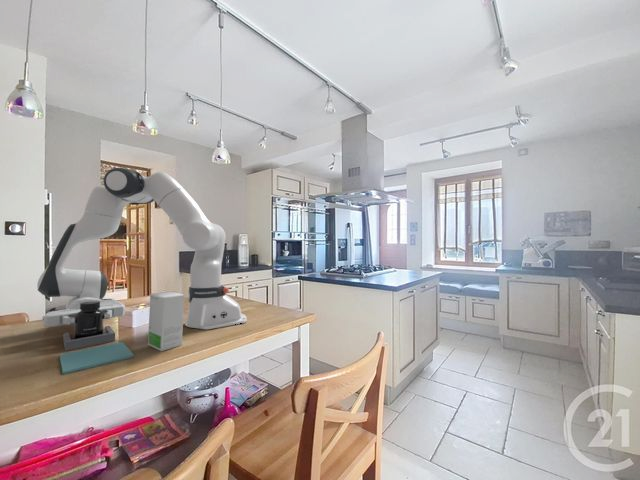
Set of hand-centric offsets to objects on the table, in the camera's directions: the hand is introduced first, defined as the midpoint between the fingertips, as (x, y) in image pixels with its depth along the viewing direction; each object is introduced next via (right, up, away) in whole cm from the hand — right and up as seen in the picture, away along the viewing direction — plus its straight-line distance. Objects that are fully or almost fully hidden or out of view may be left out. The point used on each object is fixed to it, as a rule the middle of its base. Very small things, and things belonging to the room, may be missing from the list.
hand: (89, 318), depth 85 cm
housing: (-1, -7, +1) cm, 7 cm away
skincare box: (+25, -7, -3) cm, 26 cm away
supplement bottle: (-1, -7, +1) cm, 7 cm away
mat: (+11, -7, -11) cm, 18 cm away
